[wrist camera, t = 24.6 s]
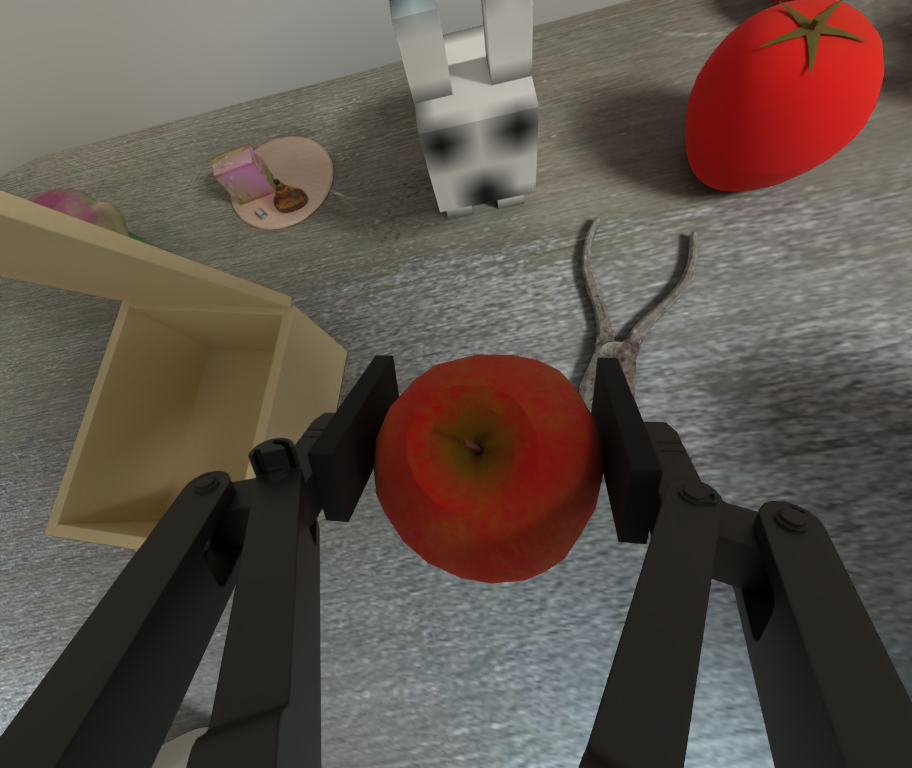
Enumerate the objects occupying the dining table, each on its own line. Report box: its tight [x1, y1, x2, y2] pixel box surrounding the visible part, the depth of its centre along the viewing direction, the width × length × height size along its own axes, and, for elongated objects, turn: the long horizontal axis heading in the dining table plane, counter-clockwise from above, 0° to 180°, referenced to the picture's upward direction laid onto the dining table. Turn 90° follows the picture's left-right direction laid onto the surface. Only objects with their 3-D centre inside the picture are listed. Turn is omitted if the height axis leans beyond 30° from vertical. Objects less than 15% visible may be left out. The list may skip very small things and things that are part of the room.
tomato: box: [685, 0, 885, 192], centre depth 33 cm, size 12×12×13 cm
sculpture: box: [28, 189, 149, 245], centre depth 43 cm, size 15×8×10 cm, turn 79°
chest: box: [44, 300, 347, 550], centre depth 35 cm, size 18×15×10 cm
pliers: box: [579, 217, 698, 411], centre depth 36 cm, size 10×1×20 cm
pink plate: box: [211, 136, 334, 230], centre depth 45 cm, size 12×12×4 cm
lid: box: [0, 190, 291, 308], centre depth 23 cm, size 18×15×9 cm
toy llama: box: [389, 0, 539, 219], centre depth 34 cm, size 8×18×20 cm, turn 7°
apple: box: [374, 355, 604, 584], centre depth 15 cm, size 8×8×11 cm
